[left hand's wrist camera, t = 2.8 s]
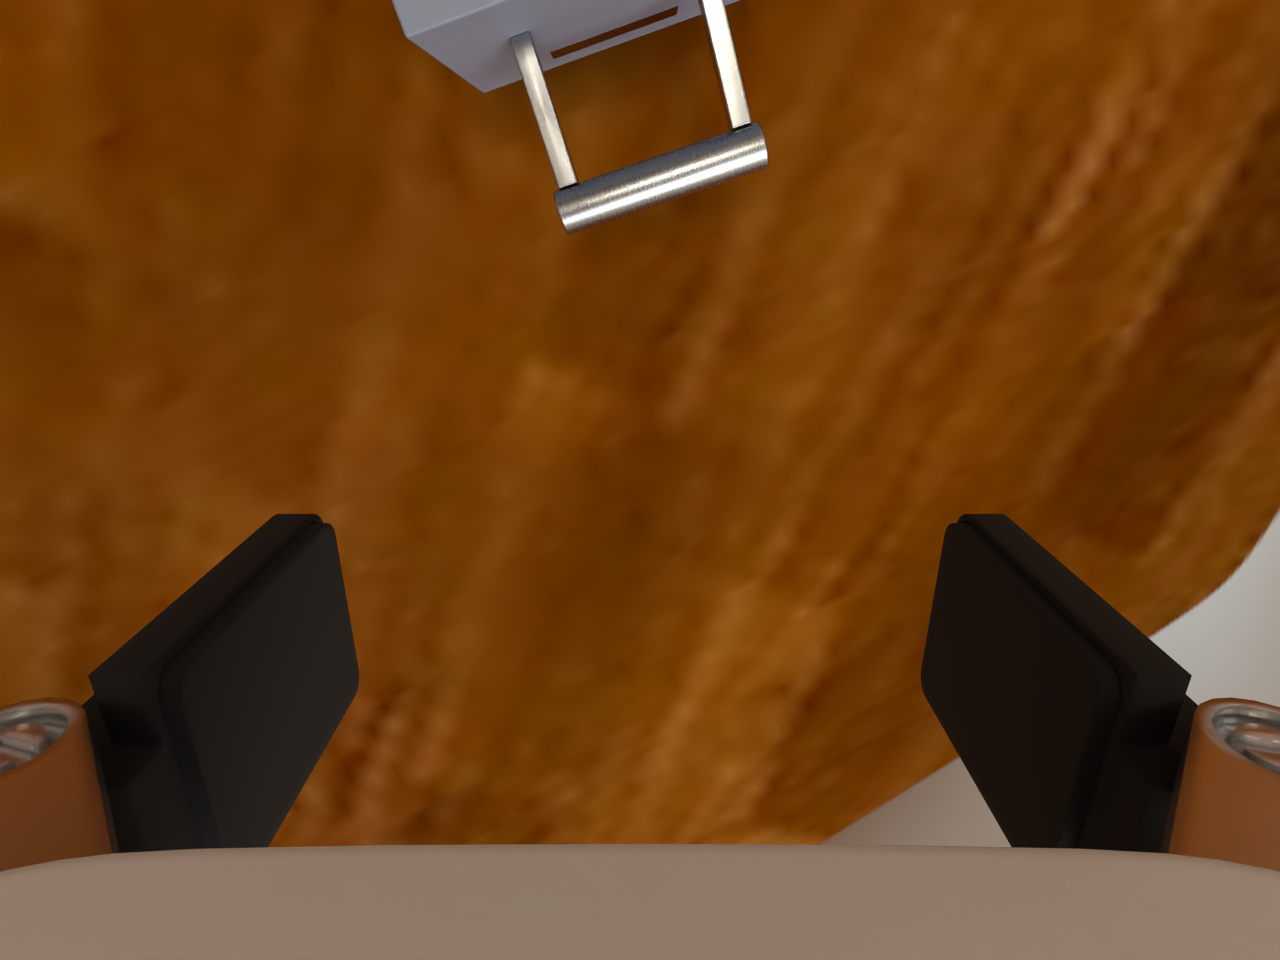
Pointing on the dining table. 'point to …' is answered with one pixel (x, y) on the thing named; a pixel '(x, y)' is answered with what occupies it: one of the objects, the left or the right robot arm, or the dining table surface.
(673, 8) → the drawer
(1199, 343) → the dining table surface
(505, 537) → the dining table surface
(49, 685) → the dining table surface
